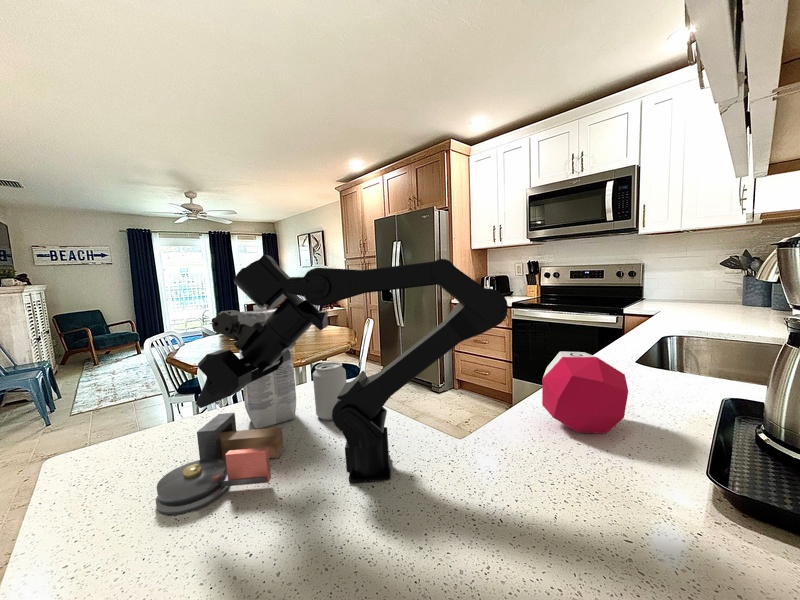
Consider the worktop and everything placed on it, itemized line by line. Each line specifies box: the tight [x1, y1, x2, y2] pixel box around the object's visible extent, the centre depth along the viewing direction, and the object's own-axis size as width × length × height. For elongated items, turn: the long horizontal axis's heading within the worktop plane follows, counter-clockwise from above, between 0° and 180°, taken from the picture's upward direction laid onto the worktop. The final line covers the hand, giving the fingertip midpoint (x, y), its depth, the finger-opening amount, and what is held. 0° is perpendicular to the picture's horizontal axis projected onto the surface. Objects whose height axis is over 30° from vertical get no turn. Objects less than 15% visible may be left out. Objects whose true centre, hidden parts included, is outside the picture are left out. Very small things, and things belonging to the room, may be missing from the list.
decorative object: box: [541, 351, 629, 435], centre depth 64 cm, size 15×15×15 cm
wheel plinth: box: [155, 474, 230, 517], centre depth 51 cm, size 10×10×1 cm
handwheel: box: [156, 447, 272, 506], centre depth 51 cm, size 16×9×5 cm, turn 93°
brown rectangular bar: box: [220, 426, 285, 463], centre depth 61 cm, size 14×4×4 cm, turn 93°
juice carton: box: [238, 304, 297, 429], centre depth 76 cm, size 9×10×27 cm
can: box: [312, 361, 348, 421], centre depth 77 cm, size 8×8×12 cm
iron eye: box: [196, 412, 237, 460], centre depth 60 cm, size 3×8×7 cm, turn 2°
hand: (217, 395), depth 54 cm, fingers open, 9 cm apart
